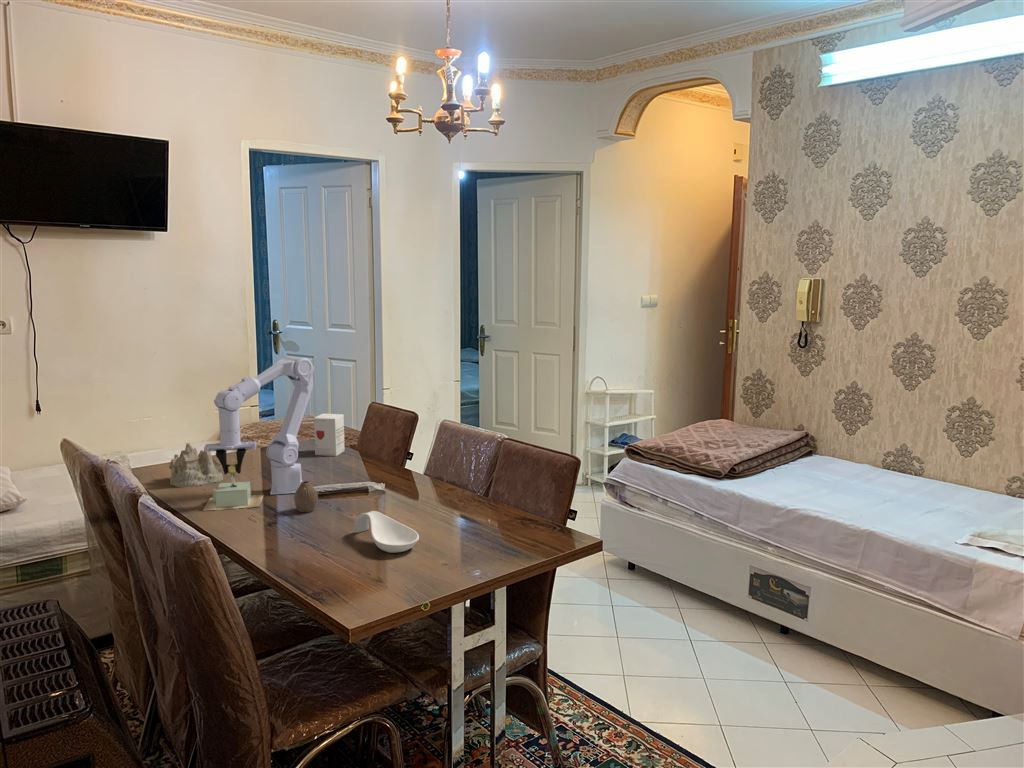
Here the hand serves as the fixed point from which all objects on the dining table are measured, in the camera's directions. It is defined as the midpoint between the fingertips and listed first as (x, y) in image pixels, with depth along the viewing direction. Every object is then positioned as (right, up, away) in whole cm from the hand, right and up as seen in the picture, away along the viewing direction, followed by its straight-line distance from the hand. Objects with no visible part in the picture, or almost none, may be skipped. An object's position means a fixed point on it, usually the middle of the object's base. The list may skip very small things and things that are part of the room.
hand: (232, 473), depth 228 cm
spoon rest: (+52, -15, -31) cm, 62 cm away
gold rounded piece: (0, -5, +1) cm, 5 cm away
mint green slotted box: (0, -10, +1) cm, 10 cm away
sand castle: (-22, -6, +26) cm, 35 cm away
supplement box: (+14, 0, +64) cm, 65 cm away
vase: (+24, -11, -5) cm, 27 cm away
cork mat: (0, -10, +1) cm, 10 cm away
